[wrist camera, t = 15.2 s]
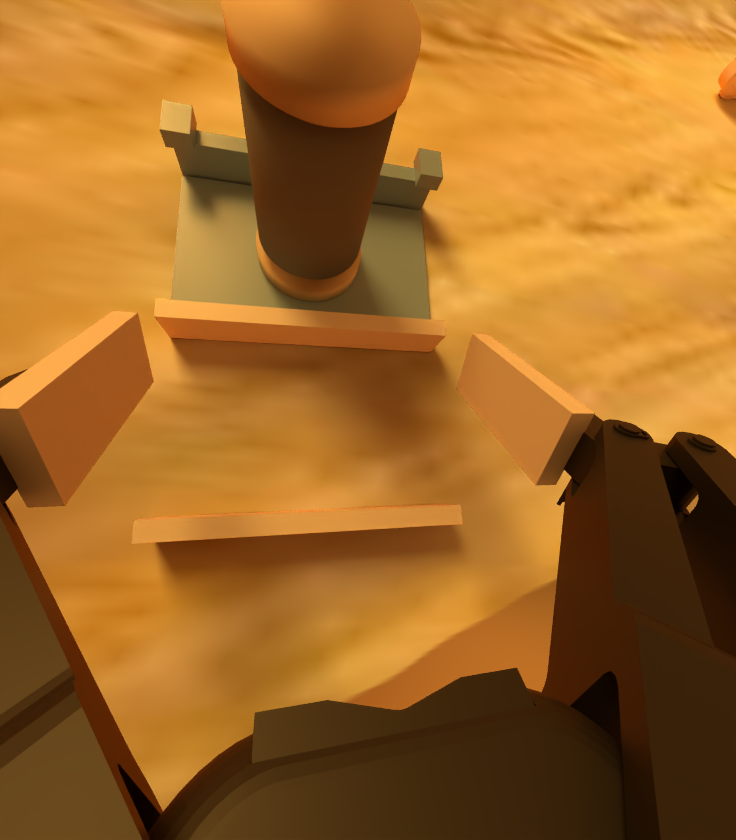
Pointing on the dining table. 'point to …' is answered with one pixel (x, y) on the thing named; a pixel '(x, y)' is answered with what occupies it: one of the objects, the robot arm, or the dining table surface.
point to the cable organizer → (728, 81)
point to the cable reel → (318, 126)
